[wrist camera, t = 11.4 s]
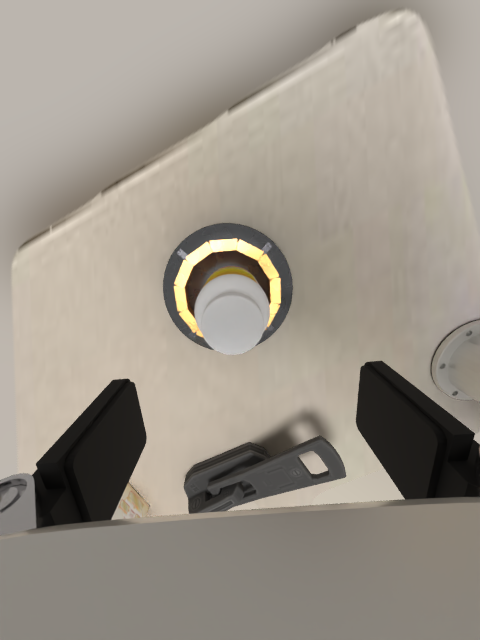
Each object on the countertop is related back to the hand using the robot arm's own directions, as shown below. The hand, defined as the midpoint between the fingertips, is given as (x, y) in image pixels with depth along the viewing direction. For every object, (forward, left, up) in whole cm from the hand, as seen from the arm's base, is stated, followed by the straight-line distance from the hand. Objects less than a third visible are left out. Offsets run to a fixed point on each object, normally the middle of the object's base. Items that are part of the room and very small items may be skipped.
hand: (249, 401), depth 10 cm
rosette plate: (+1, -1, -23) cm, 22 cm away
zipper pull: (-1, +28, -23) cm, 36 cm away
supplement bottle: (+1, -1, -21) cm, 21 cm away
